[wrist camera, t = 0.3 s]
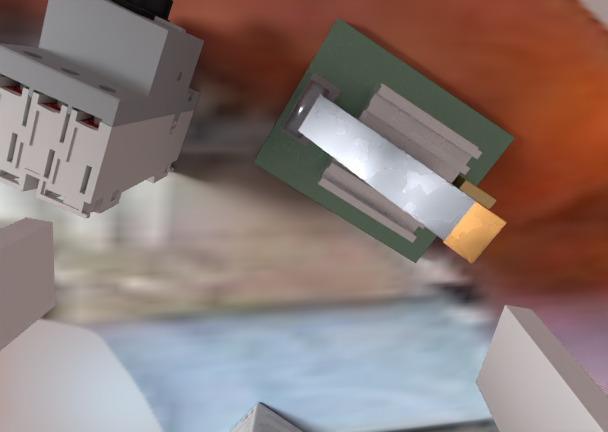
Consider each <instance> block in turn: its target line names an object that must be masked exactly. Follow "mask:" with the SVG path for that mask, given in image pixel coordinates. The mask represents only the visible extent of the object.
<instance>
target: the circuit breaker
mask: <svg viewBox="0 0 608 432" xmlns="http://www.w3.org/2000/svg"><path fill="white" fill-rule="evenodd" d="M172 3H173V1H172V0H49V1H48V5H47V10H46V15H45V19H44V24H43V29H42V34H41V38H40V43H39V46H38V47H31V46H22V45H13V44H4V43H0V182H2V183H4V184H7V185H9V186H11V187H14V188H16V189H18V190H21V191H27V190H32V189H36V188H37V192H36V197H37V198H39V199H42V200H44V201H46V202H49V203H51V204H53V205H56V206H58V207H60V208H63V209H65V210H67V211H70V212H72V213H74V214H76V215H79V216H81V217H83V218H89V217H90V212H96V213H98V214H99V213H102V212H104V211H106V210H107V209H109V208H111V207H113V206H114V205H116V204H118V203H119V199H120V196H121V193H122V192H123V191H125V190H127V189H129V188H131V187H133V186H135V185H137V184H138V183H140V182H142V181H144V180H147V181H150V182H152V183H155V182H157V181H158V180H160V179H162V178H164V177H165V176H167V174H168V172H170V173H172V172H173V171H174V168H173V167H171V164H172V162H174V161H176V160H177V159H178V156H179V154H180V151H181V148H182V145H183V142H184V139H185V136H186V133H187V130H188V128H189V125H190V122H191V119H192V116H193V113H194V110H195V107H196V104H197V101H198V99H199V96H200V92H198V91H195V90H193V89H191V88H189V86H190V83H191V80H192V77H193V74H194V71H195V68H196V65H197V62H198V59H199V56H200V53H201V50H202V47H203V44H204V41H203V40H201V39H199V38H197V37H194V36H192V35H190V34H188V33H186V30H185V29H183V28H181V27H178V26H176V25H174V24H172V23H170V21H169V20H167V19H168V16H169V13H170V10H171V6H172ZM15 178H19V182H18V181H16V180H14V179H15ZM59 196H63V197H64V200H63V201H62V200H60V199H58V198H55V197H59Z"/></svg>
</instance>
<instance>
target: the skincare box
mask: <svg viewBox="0 0 608 432" xmlns="http://www.w3.org/2000/svg"><path fill="white" fill-rule="evenodd" d="M230 432H303V431H302V430H300V429H299V428H297V427H296V426H294V425H292V424H291V423H289V422H288V421H286V420H285V419H283V418H282V417H280V416H279V415H277V414H276V413H274V412H273V411H271V410H270V409H268V408H266V407H265V406H263V405H262V404H260V403H257V404H256V405H255V406H254V407H253V408H252V409H251V410H250V411H249V412H248V413H247V414H246V415H245V416H244V417H243V418H242V419H241V420H240V422H239V423H238V424H237V425H236V426H235V427H234V428H233V429H232V430H231V431H230Z"/></svg>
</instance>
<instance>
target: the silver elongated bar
mask: <svg viewBox="0 0 608 432" xmlns="http://www.w3.org/2000/svg"><path fill="white" fill-rule="evenodd" d="M329 93H330V91H329V90H327V89H326V88H324V87H323V86H321V85H320V84H318V83H316V82H315V81H313V80H311V81H310V83H309V84H308V86H307V88H306V89H305V91H304V93H303V95H302V96H301V98H300V100H299V101H298V103H297V105H296V106H295V108H294V110H293V111H292V113H291V115H290V117H289V118H288V120H287V122H286V123H285V125H284V127H283V129H284V130H285V131H287V132H288V133H289V134H291V135H293V136H294V137H296V138H298V139H302V137H303V135H304V136H306V137H307V138H308V139H310V140H311V141H312V142H314V143H315V144H316V145H318V146H319V147H320V148H322V149H323V150H324V151H326V152H327V153H328V154H330V155H331V156H332V157H334V158H335V159H336V160H338V161H339V162H340V163H342V164H343V165H344V166H346V167H347V168H348V169H349V170H351V171H352V172H353V173H355V174H356V175H357V176H359V177H360V178H361V179H363V180H364V181H365V182H367V183H368V184H369V185H371V186H372V187H373V188H375V189H376V190H377V191H379V192H380V193H381V194H383V195H384V196H385V197H387V198H388V199H389V200H391V201H392V202H393V203H395V204H396V205H397V206H399V207H400V208H401V209H403V210H404V211H405V212H406V213H408V214H409V215H410V216H412V217H413V218H414V219H416V220H417V221H418V222H420V223H421V224H422V225H424V226H425V227H426V228H428V229H429V230H430V231H432V232H433V233H434V234H436V235H437V236H438V237H440V238H441V239H442V240H444V243H445V244H446V245H448V246H449V247H450V248H451V249H453V250H454V251H455V252H457V253H458V254H459V255H461V256H462V257H463V258H465V259H466V260H467V261H469V262H470V263H471V264H472V263H473V262H474V261H475V260H476V259H477V258H478V257H479V256H480V254H481V253H482V252H483V251H484V250H485V249H486V247H487V246H488V245H489V244H490V243H491V241H492V240H493V239H494V238H495V237H496V236H497V234H498V233H499V232H500V231H501V230H502V229H503V227H504V226H505V225H506V224H507V223H508V222H507V221H506V220H504V219H503V218H501V217H500V216H498V215H497V214H495V213H494V212H492V211H491V210H490V209H488V208H487V207H485V206H484V205H482V204H481V203H479V202H478V201H476V200H475V199H473V198H472V197H471V196H469V195H468V194H466V193H465V192H463V191H462V190H460V189H459V188H457V187H456V186H455V185H453V184H452V183H450V182H449V181H447V180H446V179H444V178H443V177H441V176H440V175H438V174H437V173H436V172H434V171H433V170H431V169H430V168H428V167H427V166H425V165H424V164H422V163H421V162H419V161H418V160H417V159H415V158H414V157H412V156H411V155H409V154H408V153H406V152H405V151H403V150H402V149H400V148H399V147H398V146H396V145H395V144H393V143H392V142H390V141H389V140H387V139H386V138H384V137H383V136H382V135H380V134H379V133H377V132H376V131H374V130H373V129H371V128H370V127H368V126H367V125H365V124H364V123H363V122H361V121H360V120H358V119H357V118H355V117H354V116H352V115H351V114H349V113H348V112H346V111H345V110H344V109H342V108H341V107H339V106H338V105H336V104H335V103H333V102H332V101H330V100H329V99H327V96H328V94H329Z"/></svg>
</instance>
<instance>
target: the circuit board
mask: <svg viewBox="0 0 608 432" xmlns="http://www.w3.org/2000/svg"><path fill="white" fill-rule="evenodd" d="M311 80H313V81H315V82H316V83H318V84H320V85H321V86H323V87H324V88H326V89H327V90H329V91H330V93H329V94H328V96H327V99H329V100H330V101H332V102H333V103H335V104H336V105H338V106H339V107H341V108H342V109H344V110H345V111H346V112H348V113H349V114H351V115H352V116H354V117H355V118H357V119H358V120H360V121H361V122H363V123H364V124H365V125H367V126H368V127H370V128H371V129H373V130H374V131H376V132H377V133H379V134H380V135H382V136H383V137H384V138H386V139H387V140H389V141H390V142H392V143H393V144H395V145H396V146H398V147H399V148H400V149H402V150H403V151H405V152H406V153H408V154H409V155H411V156H412V157H414V158H415V159H417V160H418V161H419V162H421V163H422V164H424V165H425V166H427V167H428V168H430V169H431V170H433V171H434V172H436V173H437V174H438V175H440V176H441V177H443V178H444V179H446V180H447V181H449V182H450V183H452V184H453V185H455V186H456V187H457V188H459V189H460V190H462V191H463V192H465V193H466V194H468V195H469V196H471V197H472V198H473V199H475V200H476V201H478V202H479V203H481V204H482V205H484V206H485V207H487V208H488V209H490V208H491V207H492V206H493V205H494V203H495V202H496V201H497V200H496V199H494V198H493V197H492V196H490V195H489V194H487V193H486V192H485V191H483V190H482V189H481V188H479V187H478V186H477V185H478V184H479V183H480V181H481V180H482V179H483V178H484V176H485V175H486V174H487V173H488V171H489V170H490V169H491V168H492V166H493V165H494V164H495V162H496V161H497V160H498V159H499V157H500V156H501V155H502V154H503V152H504V151H505V150H506V149H507V147H508V146H509V145H510V144H511V142H512V141H513V140H514V139H515V137H513V136H512V135H510V134H509V133H507V132H506V131H504V130H503V129H501V128H500V127H498V126H497V125H496V124H494V123H493V122H491V121H490V120H488V119H487V118H485V117H484V116H482V115H481V114H479V113H478V112H476V111H475V110H473V109H472V108H470V107H469V106H468V105H466V104H465V103H463V102H462V101H460V100H459V99H457V98H456V97H454V96H453V95H451V94H450V93H448V92H447V91H445V90H444V89H442V88H441V87H440V86H438V85H437V84H435V83H434V82H432V81H431V80H429V79H428V78H426V77H425V76H423V75H422V74H420V73H419V72H417V71H416V70H414V69H413V68H412V67H410V66H409V65H407V64H406V63H404V62H403V61H401V60H400V59H398V58H397V57H395V56H394V55H392V54H391V53H389V52H388V51H386V50H385V49H384V48H382V47H381V46H379V45H378V44H376V43H375V42H373V41H372V40H370V39H369V38H367V37H366V36H364V35H363V34H361V33H360V32H358V31H357V30H356V29H354V28H353V27H351V26H350V25H348V24H347V23H345V22H344V21H342V20H341V19H339V18H337V19H336V21H335V23H334V25H333V26H332V28H331V30H330V32H329V33H328V35H327V37H326V38H325V40H324V42H323V44H322V45H321V47H320V49H319V50H318V52H317V54H316V56H315V57H314V59H313V61H312V62H311V64H310V66H309V68H308V69H307V71H306V73H305V74H304V76H303V78H302V80H301V81H300V83H299V85H298V86H297V88H296V90H295V92H294V93H293V95H292V97H291V98H290V100H289V102H288V104H287V105H286V107H285V109H284V110H283V112H282V114H281V116H280V117H279V119H278V121H277V122H276V124H275V126H274V128H273V129H272V131H271V133H270V135H269V136H268V138H267V140H266V141H265V143H264V145H263V147H262V148H261V150H260V152H259V153H258V155H257V157H256V159H255V160H254V162H253V163H254V164H256V165H257V166H259V167H260V168H262V169H264V170H265V171H267V172H269V173H270V174H272V175H273V176H275V177H277V178H278V179H280V180H282V181H283V182H285V183H286V184H288V185H290V186H291V187H293V188H295V189H296V190H298V191H299V192H301V193H303V194H304V195H306V196H308V197H309V198H311V199H312V200H314V201H316V202H317V203H319V204H321V205H322V206H324V207H325V208H327V209H329V210H330V211H332V212H334V213H335V214H337V215H338V216H340V217H342V218H343V219H345V220H346V221H348V222H350V223H351V224H353V225H355V226H356V227H358V228H359V229H361V230H363V231H364V232H366V233H368V234H369V235H371V236H372V237H374V238H376V239H377V240H379V241H381V242H382V243H384V244H385V245H387V246H389V247H390V248H392V249H394V250H395V251H397V252H398V253H400V254H402V255H403V256H405V257H407V258H408V259H410V260H411V261H413V262H415V263H416V262H417V261H418V259H419V258H420V257H421V256H422V254H423V253H424V252H425V251H426V249H427V248H428V247H429V246H430V244H431V243H432V242H433V241H434V239H435V238H436V237H437V235H436V234H434V233H433V232H432V231H430V230H429V229H428V228H426V227H425V226H424V225H422V224H421V223H420V222H418V221H417V220H416V219H414V218H413V217H412V216H410V215H409V214H408V213H406V212H405V211H404V210H403V209H401V208H400V207H399V206H397V205H396V204H395V203H393V202H392V201H391V200H389V199H388V198H387V197H385V196H384V195H383V194H381V193H380V192H379V191H377V190H376V189H375V188H373V187H372V186H371V185H369V184H368V183H367V182H365V181H364V180H363V179H361V178H360V177H359V176H357V175H356V174H355V173H353V172H352V171H351V170H349V169H348V168H347V167H346V166H344V165H343V164H342V163H340V162H339V161H338V160H336V159H335V158H334V157H332V156H331V155H330V154H328V153H327V152H326V151H324V150H323V149H322V148H320V147H319V146H318V145H316V144H315V143H314V142H312V141H311V140H310V139H308V138H307V137H306V136H304V135H303V137H302V139H298V138H296V137H294V136H293V135H291V134H289V133H288V132H287V131H285V130H284V129H283V127H284V125H285V123H286V122H287V120H288V118H289V117H290V115H291V113H292V111H293V110H294V108H295V106H296V105H297V103H298V101H299V100H300V98H301V96H302V95H303V93H304V91H305V89H306V88H307V86H308V84H309V83H310V81H311Z"/></svg>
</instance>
